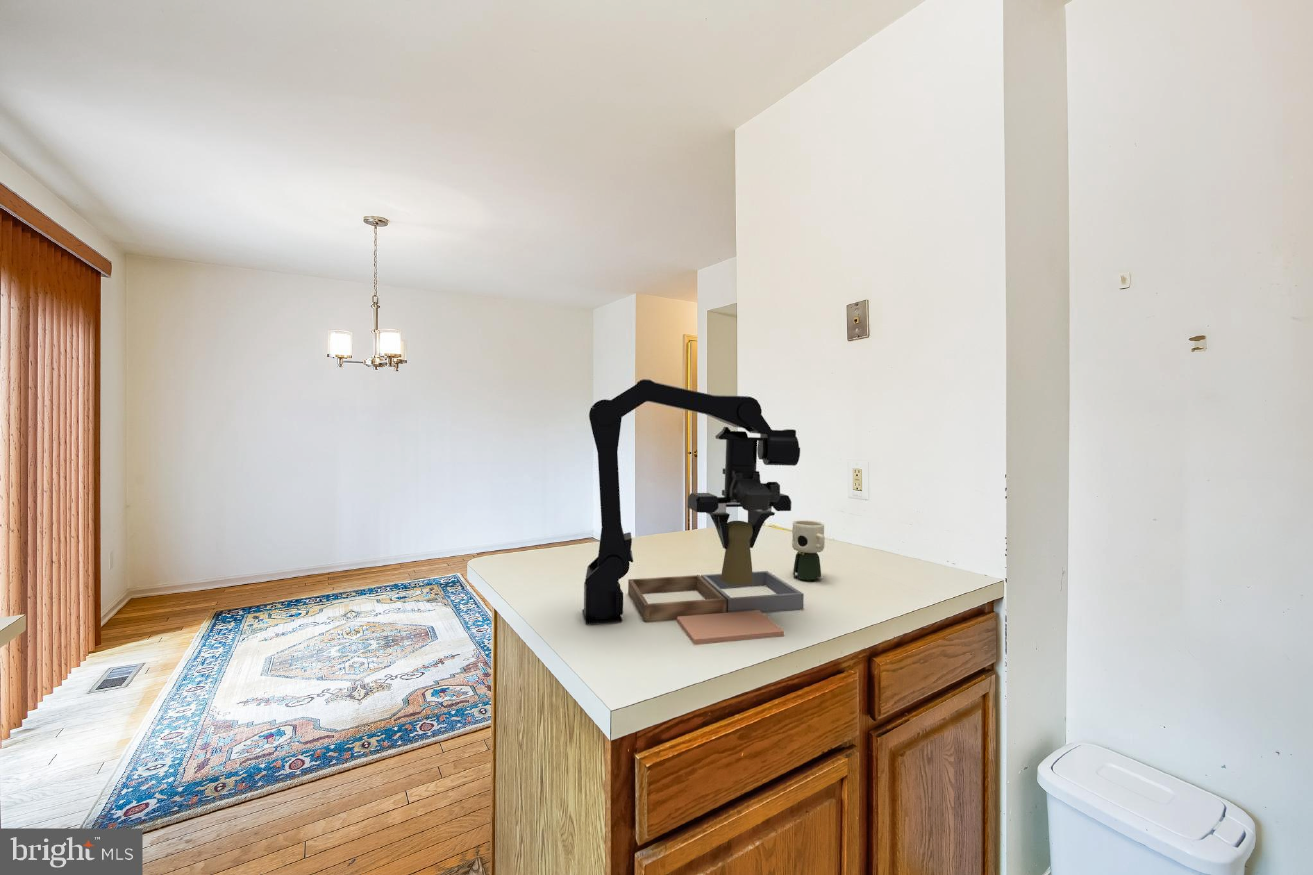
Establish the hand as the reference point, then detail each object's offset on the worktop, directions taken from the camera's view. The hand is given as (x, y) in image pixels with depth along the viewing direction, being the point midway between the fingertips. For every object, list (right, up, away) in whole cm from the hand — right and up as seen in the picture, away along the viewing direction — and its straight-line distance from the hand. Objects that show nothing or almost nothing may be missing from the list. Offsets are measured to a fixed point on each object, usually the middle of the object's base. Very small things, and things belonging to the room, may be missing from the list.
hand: (737, 548), depth 96 cm
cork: (0, -6, 0) cm, 6 cm away
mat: (-3, -13, -6) cm, 14 cm away
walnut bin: (-12, -12, +6) cm, 18 cm away
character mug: (+20, -12, +24) cm, 34 cm away
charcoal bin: (+4, -12, +10) cm, 16 cm away
